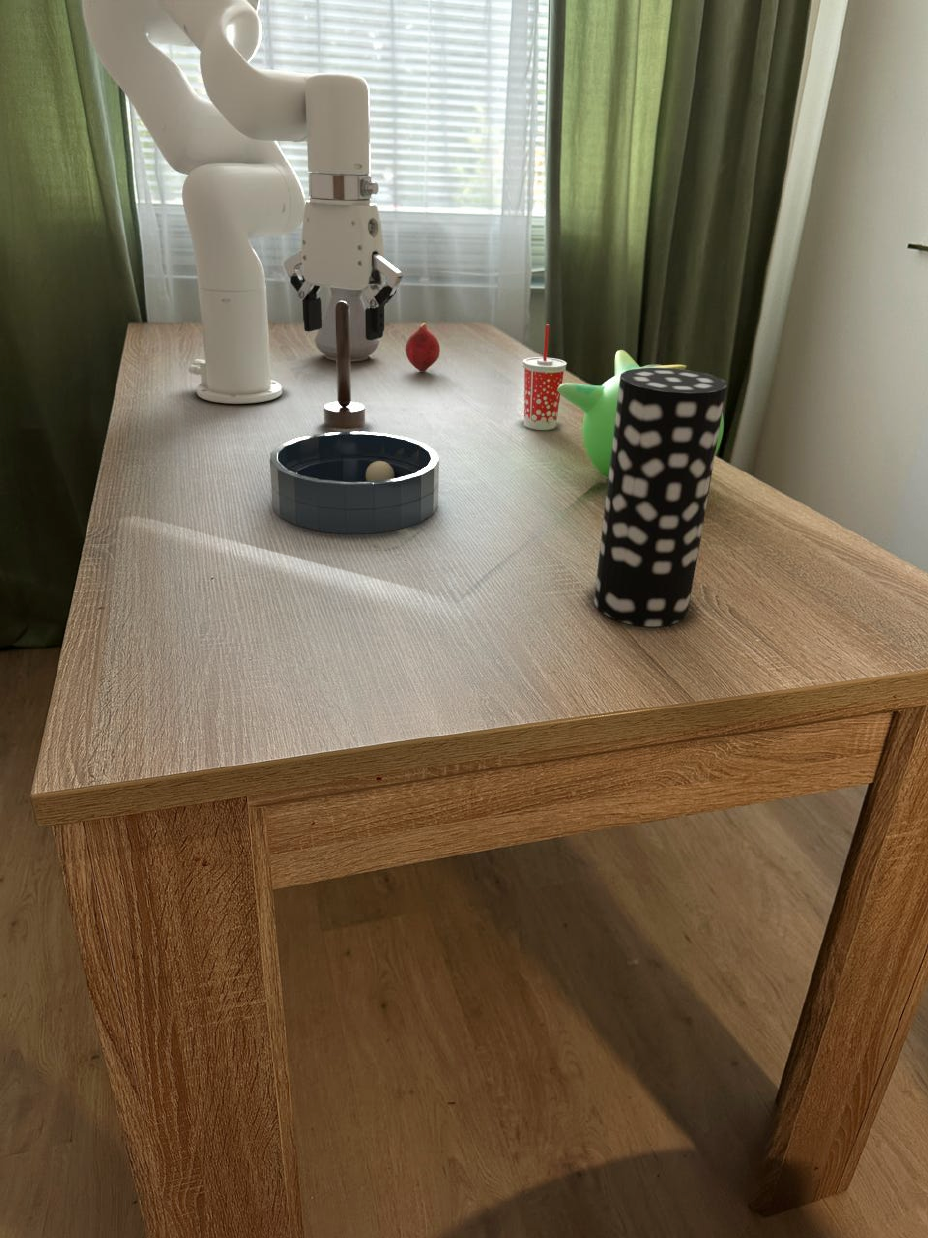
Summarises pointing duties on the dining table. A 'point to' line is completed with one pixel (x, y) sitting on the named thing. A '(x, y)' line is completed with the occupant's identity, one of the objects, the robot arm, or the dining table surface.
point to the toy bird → (606, 410)
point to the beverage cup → (542, 389)
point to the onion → (422, 348)
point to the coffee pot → (358, 341)
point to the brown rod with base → (343, 379)
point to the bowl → (353, 482)
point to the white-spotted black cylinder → (657, 493)
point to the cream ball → (379, 472)
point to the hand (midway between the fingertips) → (343, 333)
